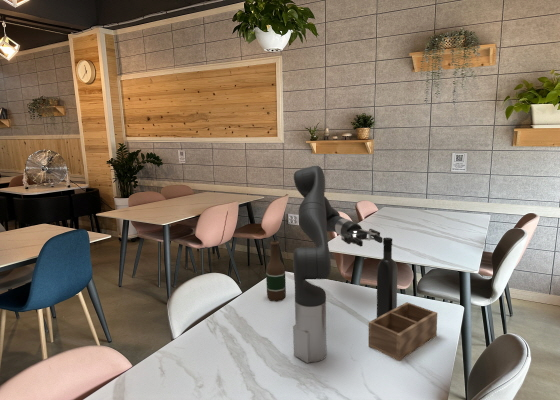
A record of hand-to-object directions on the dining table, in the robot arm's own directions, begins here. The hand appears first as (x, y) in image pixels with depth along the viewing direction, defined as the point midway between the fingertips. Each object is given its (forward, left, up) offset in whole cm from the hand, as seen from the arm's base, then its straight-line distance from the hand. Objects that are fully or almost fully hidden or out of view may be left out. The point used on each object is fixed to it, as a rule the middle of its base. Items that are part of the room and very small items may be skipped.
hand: (371, 242), depth 140 cm
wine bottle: (-3, -9, -26) cm, 28 cm away
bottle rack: (-11, -20, -26) cm, 35 cm away
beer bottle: (-19, +33, -26) cm, 46 cm away
